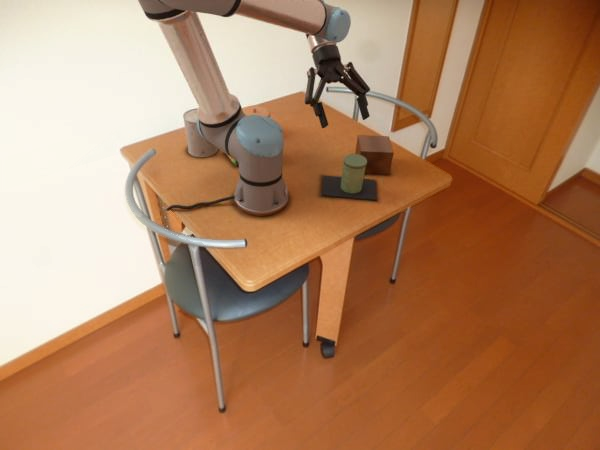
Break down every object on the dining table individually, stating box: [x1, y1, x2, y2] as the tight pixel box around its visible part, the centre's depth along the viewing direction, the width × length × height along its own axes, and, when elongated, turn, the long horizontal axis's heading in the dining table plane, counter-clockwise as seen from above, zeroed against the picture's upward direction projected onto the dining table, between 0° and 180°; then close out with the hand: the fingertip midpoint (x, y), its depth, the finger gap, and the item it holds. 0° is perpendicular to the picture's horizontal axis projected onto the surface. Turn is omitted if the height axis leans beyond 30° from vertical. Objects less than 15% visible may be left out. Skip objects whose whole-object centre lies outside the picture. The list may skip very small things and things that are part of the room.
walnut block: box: [354, 134, 395, 176], centre depth 132 cm, size 10×10×8 cm
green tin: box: [341, 153, 367, 193], centre depth 121 cm, size 7×7×10 cm
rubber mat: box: [321, 175, 378, 202], centre depth 125 cm, size 16×10×1 cm, turn 86°
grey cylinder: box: [182, 107, 219, 158], centre depth 134 cm, size 10×10×12 cm
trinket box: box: [242, 105, 271, 118], centre depth 145 cm, size 11×11×9 cm
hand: (346, 122), depth 117 cm, fingers open, 13 cm apart
